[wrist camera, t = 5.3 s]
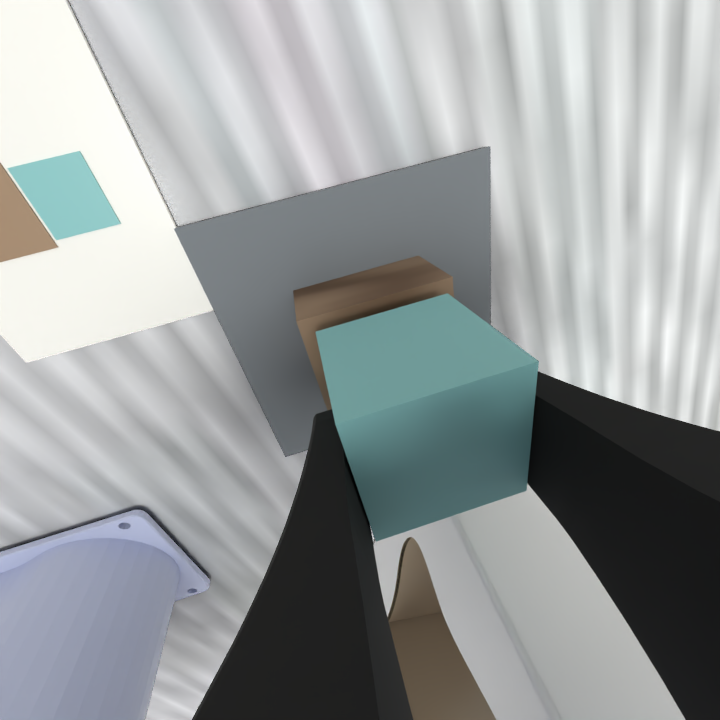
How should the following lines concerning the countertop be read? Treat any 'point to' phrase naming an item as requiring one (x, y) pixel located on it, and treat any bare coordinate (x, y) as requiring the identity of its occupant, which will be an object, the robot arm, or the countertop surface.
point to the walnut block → (363, 300)
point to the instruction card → (76, 199)
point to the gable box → (511, 623)
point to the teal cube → (429, 411)
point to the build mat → (335, 265)
